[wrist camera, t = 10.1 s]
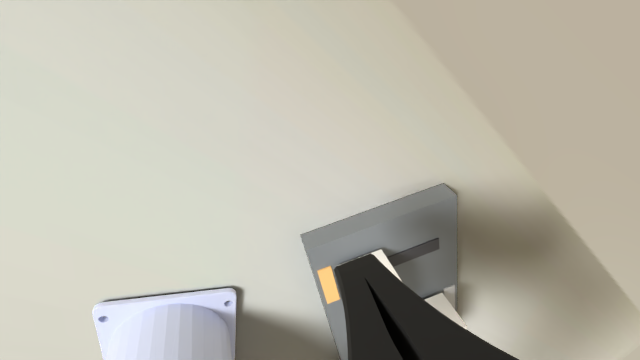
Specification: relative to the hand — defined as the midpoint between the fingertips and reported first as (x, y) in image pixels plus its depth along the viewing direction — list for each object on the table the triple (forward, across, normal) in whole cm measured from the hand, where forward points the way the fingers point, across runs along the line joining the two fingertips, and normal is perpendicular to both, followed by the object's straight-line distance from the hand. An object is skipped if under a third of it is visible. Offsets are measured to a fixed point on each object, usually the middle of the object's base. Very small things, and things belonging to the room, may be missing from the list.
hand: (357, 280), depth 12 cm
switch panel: (+9, -4, +15) cm, 18 cm away
